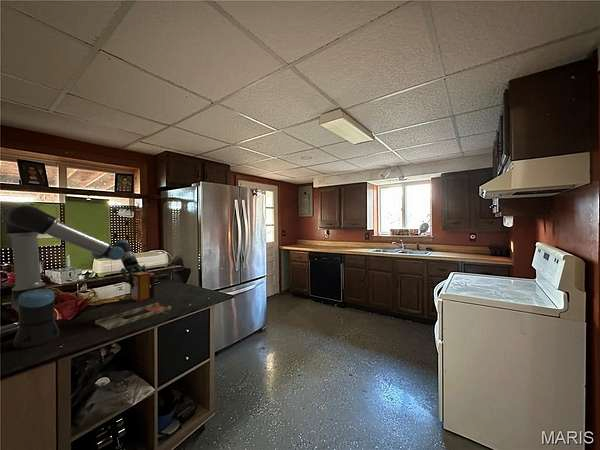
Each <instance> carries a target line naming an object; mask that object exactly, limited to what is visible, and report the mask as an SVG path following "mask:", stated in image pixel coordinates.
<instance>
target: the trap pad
mask: <svg viewBox="0 0 600 450" xmlns="http://www.w3.org/2000/svg"><path fill="white" fill-rule="evenodd" d="M165 307H166V306H163V305H160V304H159V306H156V307H152V308H149V309H146V310H145V311H147V312H152V311H155V310H158V309H161V308H165Z"/></svg>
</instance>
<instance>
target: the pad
mask: <svg viewBox="0 0 600 450" xmlns="http://www.w3.org/2000/svg"><path fill="white" fill-rule="evenodd" d="M123 320H126V318H124V317H119V318H116V319H112V320H109V321H106V322H102V323H99V324H97V325H98V326H100V327H102V328H104V329H107V325H110V324H113V323H117V322H120V321H123Z"/></svg>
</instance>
